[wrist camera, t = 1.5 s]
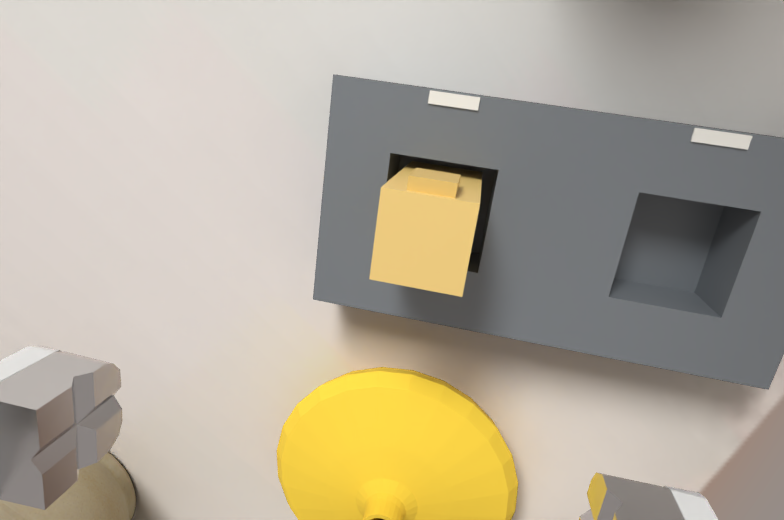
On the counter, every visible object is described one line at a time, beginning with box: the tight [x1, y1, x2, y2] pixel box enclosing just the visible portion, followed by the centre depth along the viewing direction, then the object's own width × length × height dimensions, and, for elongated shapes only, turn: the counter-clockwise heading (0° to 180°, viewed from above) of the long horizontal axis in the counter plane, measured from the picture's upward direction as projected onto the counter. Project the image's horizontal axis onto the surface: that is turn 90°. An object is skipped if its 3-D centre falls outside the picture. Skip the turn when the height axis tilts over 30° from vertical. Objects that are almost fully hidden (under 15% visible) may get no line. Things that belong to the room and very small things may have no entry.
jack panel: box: [313, 74, 784, 389], centre depth 27 cm, size 12×24×4 cm, turn 82°
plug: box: [369, 161, 482, 297], centre depth 25 cm, size 5×4×9 cm
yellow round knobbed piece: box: [277, 367, 518, 520], centre depth 33 cm, size 16×16×7 cm
